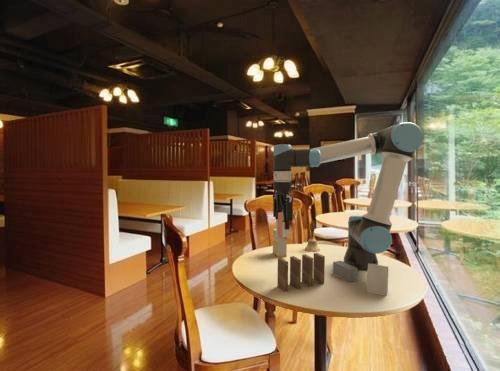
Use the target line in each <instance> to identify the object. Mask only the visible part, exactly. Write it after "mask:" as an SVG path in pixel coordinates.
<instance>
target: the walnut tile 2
mask: <svg viewBox="0 0 500 371" xmlns="http://www.w3.org/2000/svg"><path fill="white" fill-rule="evenodd" d="M301 284H302V259H300V258H298V257H297V256H294V255H292V256H289V285H290V286H291V287H293V288H294V289H296V290H299V289H300V290H301V289H302V286H301Z"/></svg>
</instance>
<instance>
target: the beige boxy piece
mask: <svg viewBox="0 0 500 371" xmlns="http://www.w3.org/2000/svg"><path fill="white" fill-rule="evenodd" d="M366 271H367V272H366V290H365V291H366V292H368V293H373V294H377V295H381V296H388V292H389V266H387V265H386V266H385V265H380V264H378V265H375V264H369V263H368V270H366Z"/></svg>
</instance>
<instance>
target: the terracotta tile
mask: <svg viewBox="0 0 500 371" xmlns="http://www.w3.org/2000/svg"><path fill="white" fill-rule="evenodd" d="M282 221H284V218H283V211H282V212H278V237H279V238H281V239H283V240H286V239H287V240H288V237H283V222H282Z"/></svg>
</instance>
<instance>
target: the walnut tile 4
mask: <svg viewBox="0 0 500 371" xmlns="http://www.w3.org/2000/svg"><path fill="white" fill-rule="evenodd" d="M325 258H326V256H325V255H323V254H321V253H318V252H313V281H314V282H316V283H318V284H319V285H324V284H325V266H326V265H325V264H326V263H325V262H326V259H325Z"/></svg>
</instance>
